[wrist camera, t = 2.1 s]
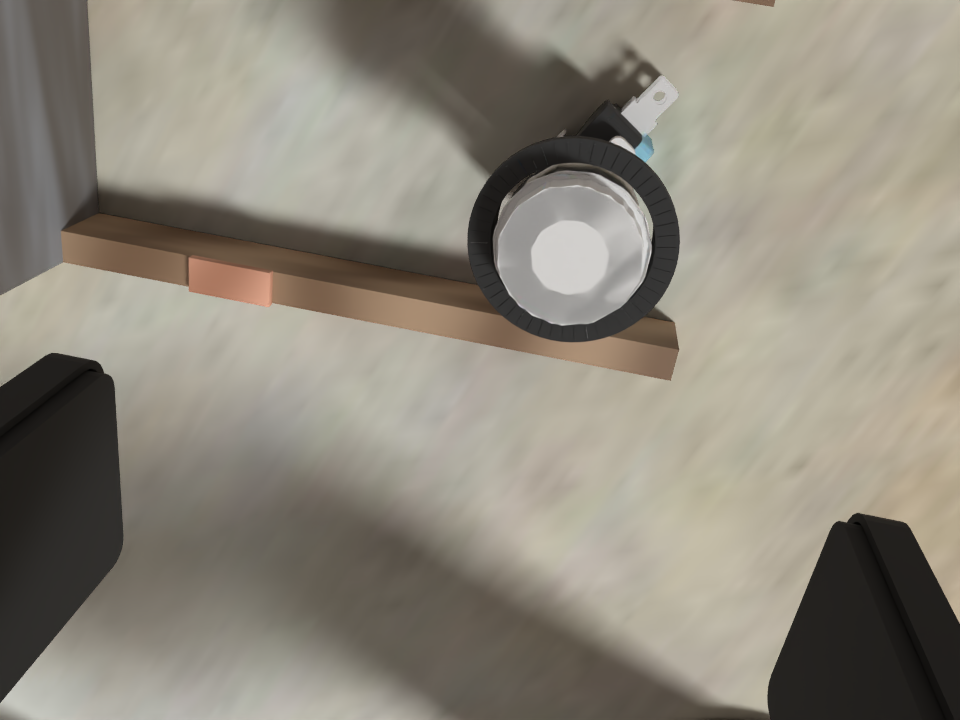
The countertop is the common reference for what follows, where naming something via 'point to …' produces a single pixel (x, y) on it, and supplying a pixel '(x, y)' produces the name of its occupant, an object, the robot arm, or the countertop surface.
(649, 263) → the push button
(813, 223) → the countertop surface
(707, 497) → the countertop surface
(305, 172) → the countertop surface
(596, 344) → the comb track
